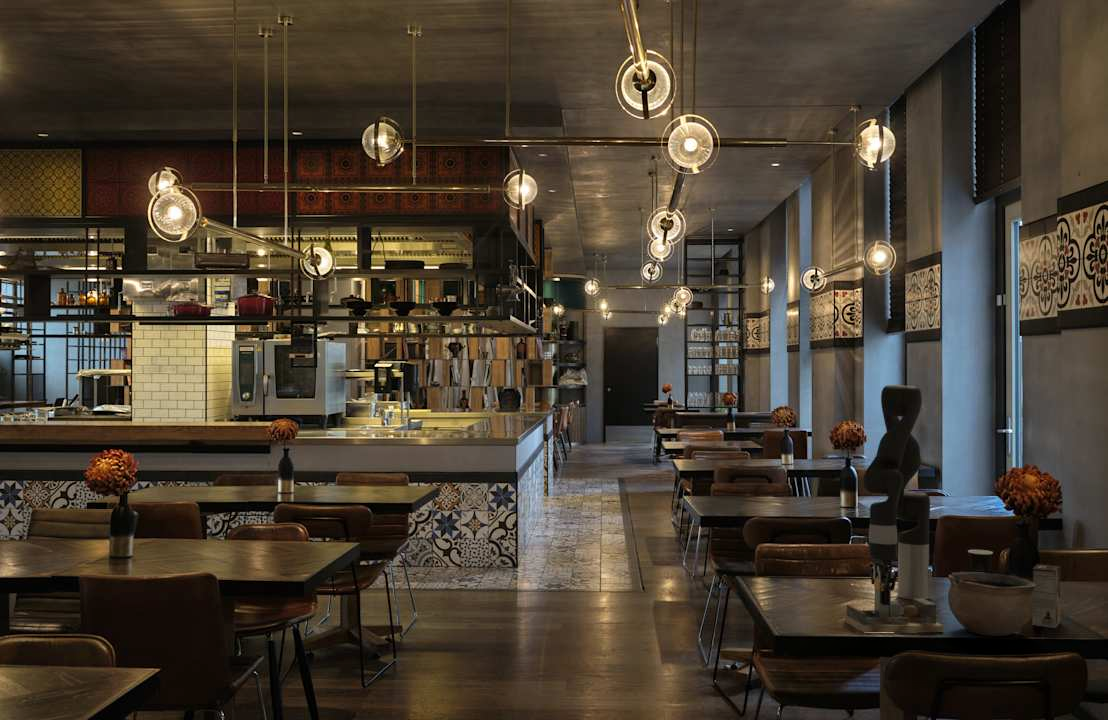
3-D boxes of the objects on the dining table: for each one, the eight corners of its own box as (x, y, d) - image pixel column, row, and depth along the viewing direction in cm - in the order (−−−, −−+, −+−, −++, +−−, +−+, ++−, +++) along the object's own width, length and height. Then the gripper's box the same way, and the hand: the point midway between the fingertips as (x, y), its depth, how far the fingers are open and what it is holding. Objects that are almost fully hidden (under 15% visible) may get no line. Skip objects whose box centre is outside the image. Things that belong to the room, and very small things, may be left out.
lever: (891, 615, 289) (892, 575, 290) (903, 621, 282) (903, 580, 282) (871, 616, 289) (871, 575, 289) (882, 621, 282) (882, 580, 282)
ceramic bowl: (938, 622, 292) (938, 569, 292) (1017, 625, 290) (1018, 571, 290) (961, 641, 270) (962, 584, 270) (1048, 645, 268) (1048, 586, 268)
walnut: (914, 618, 288) (914, 603, 288) (920, 621, 284) (920, 606, 284) (900, 618, 288) (900, 603, 288) (906, 621, 284) (906, 606, 284)
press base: (919, 621, 294) (919, 596, 294) (943, 632, 280) (943, 606, 280) (845, 621, 291) (845, 596, 292) (864, 633, 277) (865, 607, 278)
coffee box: (1036, 619, 298) (1036, 563, 298) (1060, 622, 294) (1060, 565, 295) (1031, 625, 290) (1031, 568, 290) (1056, 628, 287) (1057, 570, 287)
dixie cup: (974, 586, 347) (974, 553, 348) (963, 581, 355) (963, 549, 355) (997, 586, 348) (997, 553, 348) (985, 581, 356) (985, 549, 356)
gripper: (907, 544, 279) (906, 608, 279) (885, 537, 293) (884, 598, 293) (880, 544, 278) (880, 609, 278) (859, 537, 292) (859, 598, 292)
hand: (882, 603), depth 285 cm, fingers closed on lever, 3 cm apart
